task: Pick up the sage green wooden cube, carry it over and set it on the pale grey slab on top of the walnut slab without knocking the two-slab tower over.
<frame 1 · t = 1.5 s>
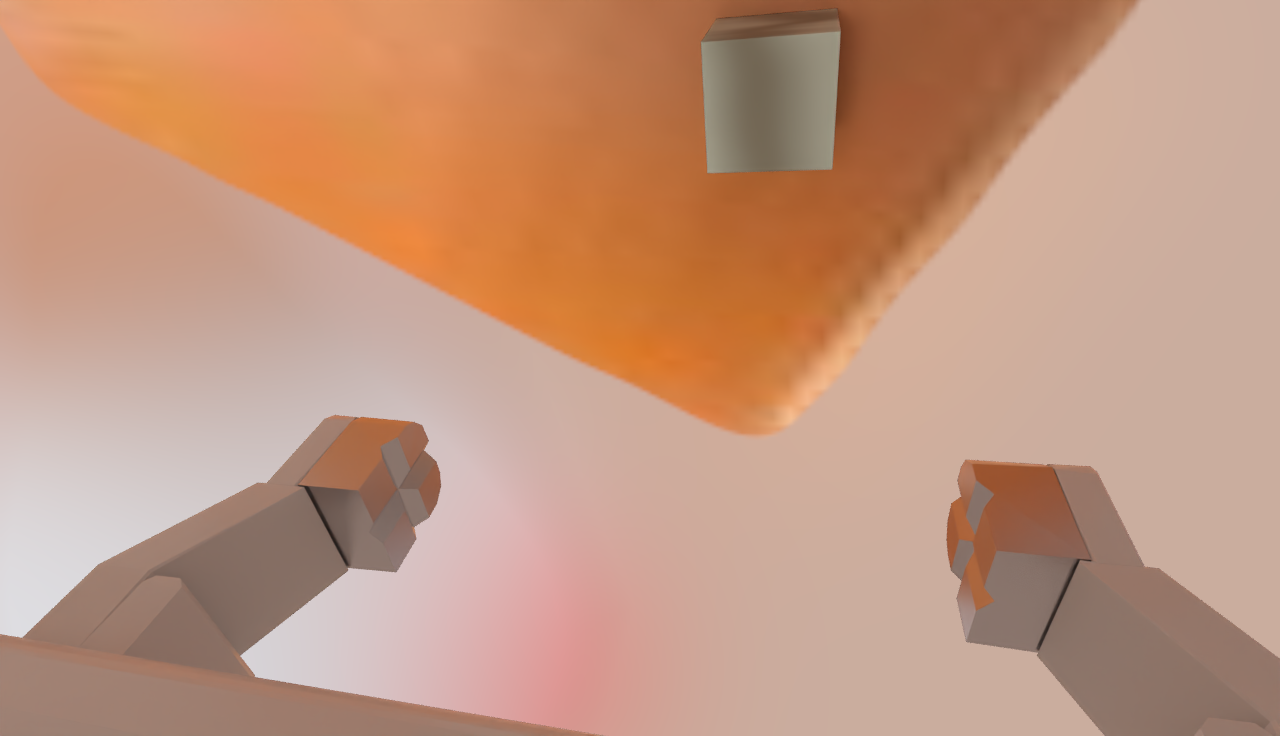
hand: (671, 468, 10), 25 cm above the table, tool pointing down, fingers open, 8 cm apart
sage cube: (775, 76, 30), on the table
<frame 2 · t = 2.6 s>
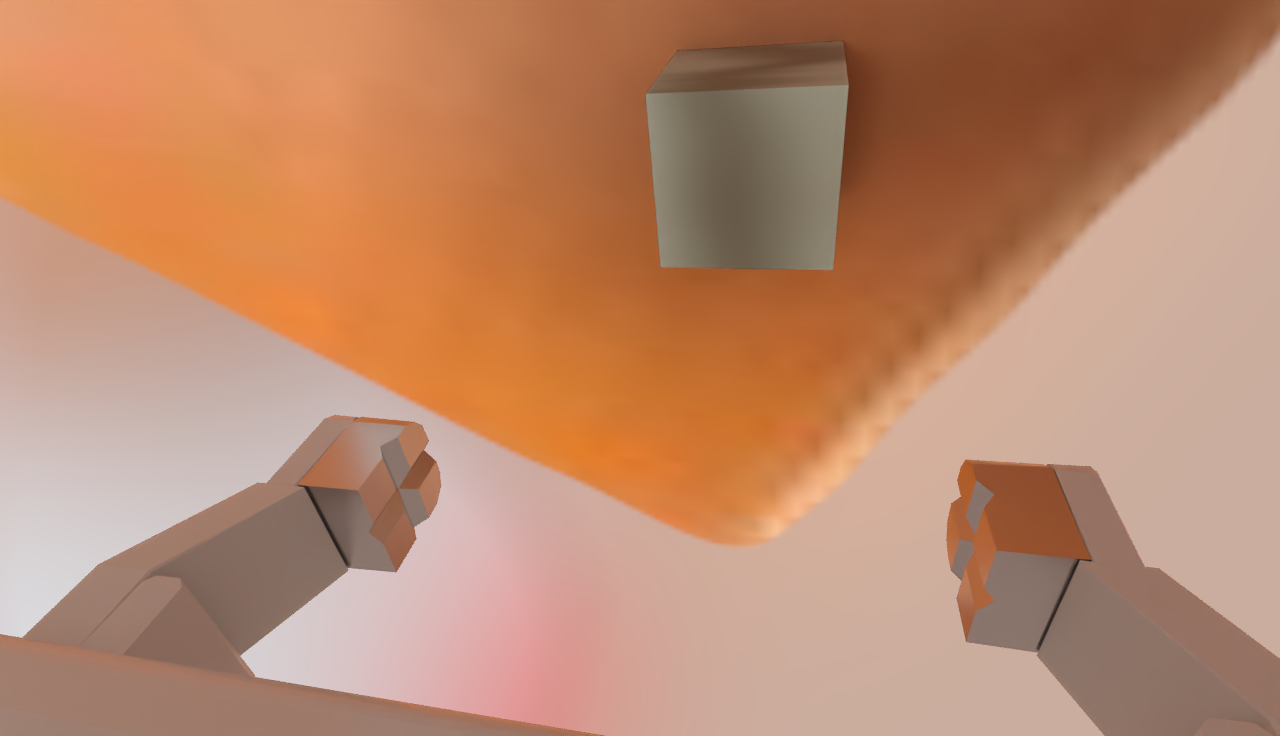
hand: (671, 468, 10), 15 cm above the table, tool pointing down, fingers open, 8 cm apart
sage cube: (757, 127, 22), on the table
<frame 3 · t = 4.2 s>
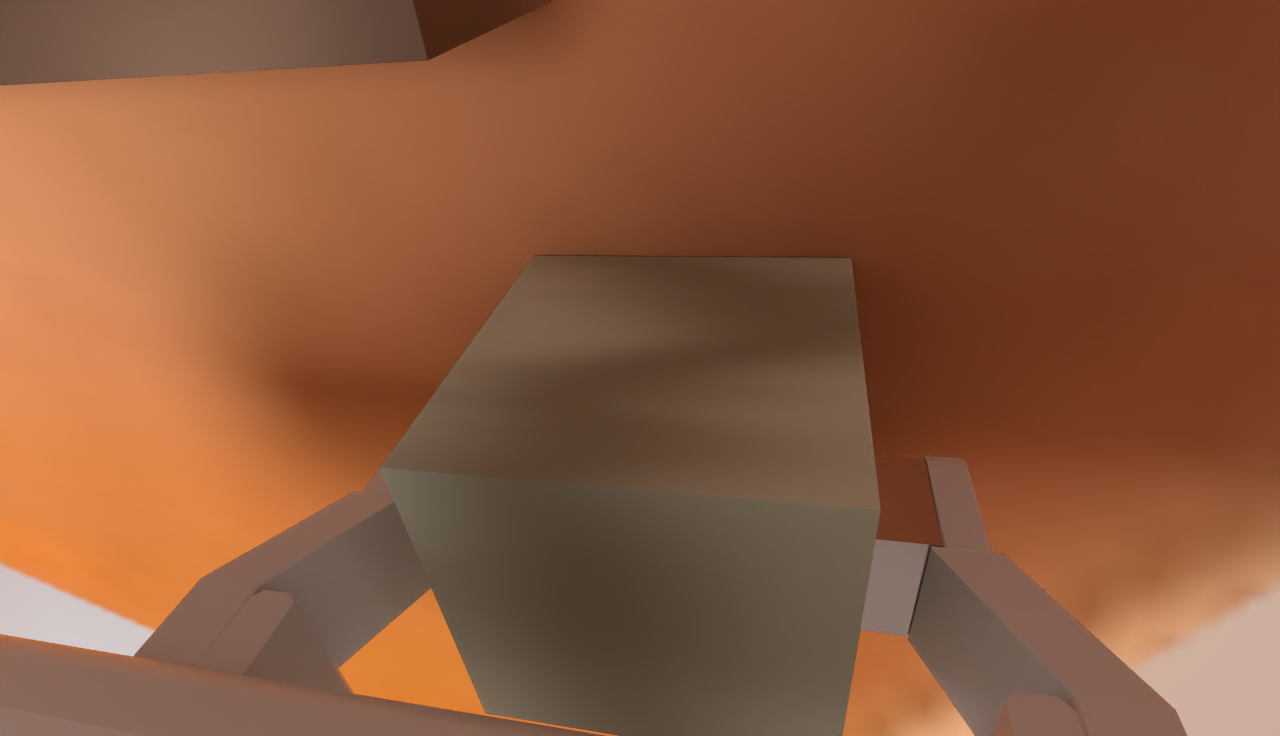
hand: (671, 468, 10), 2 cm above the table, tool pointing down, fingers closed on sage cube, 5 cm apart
sage cube: (691, 384, 12), on the table, touching gripper
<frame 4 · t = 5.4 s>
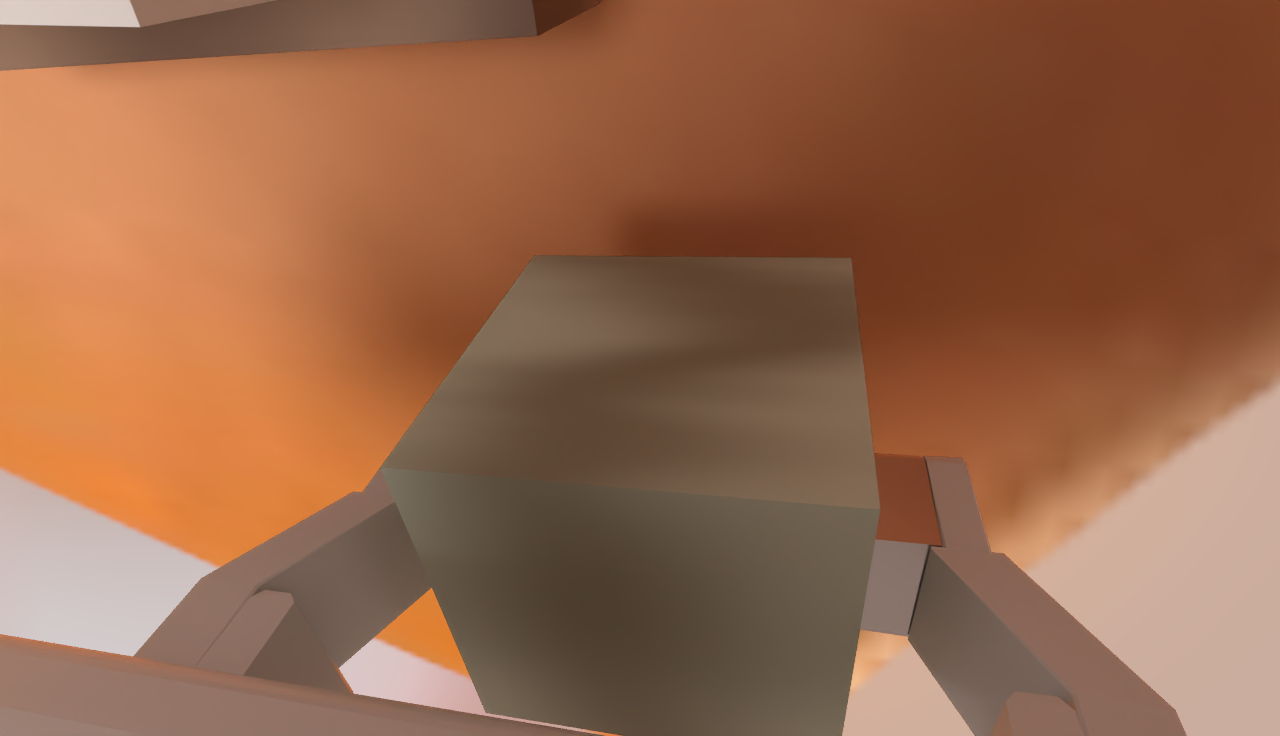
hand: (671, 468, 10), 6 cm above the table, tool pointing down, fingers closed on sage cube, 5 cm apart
sage cube: (691, 384, 12), point 3 cm above the table, touching gripper
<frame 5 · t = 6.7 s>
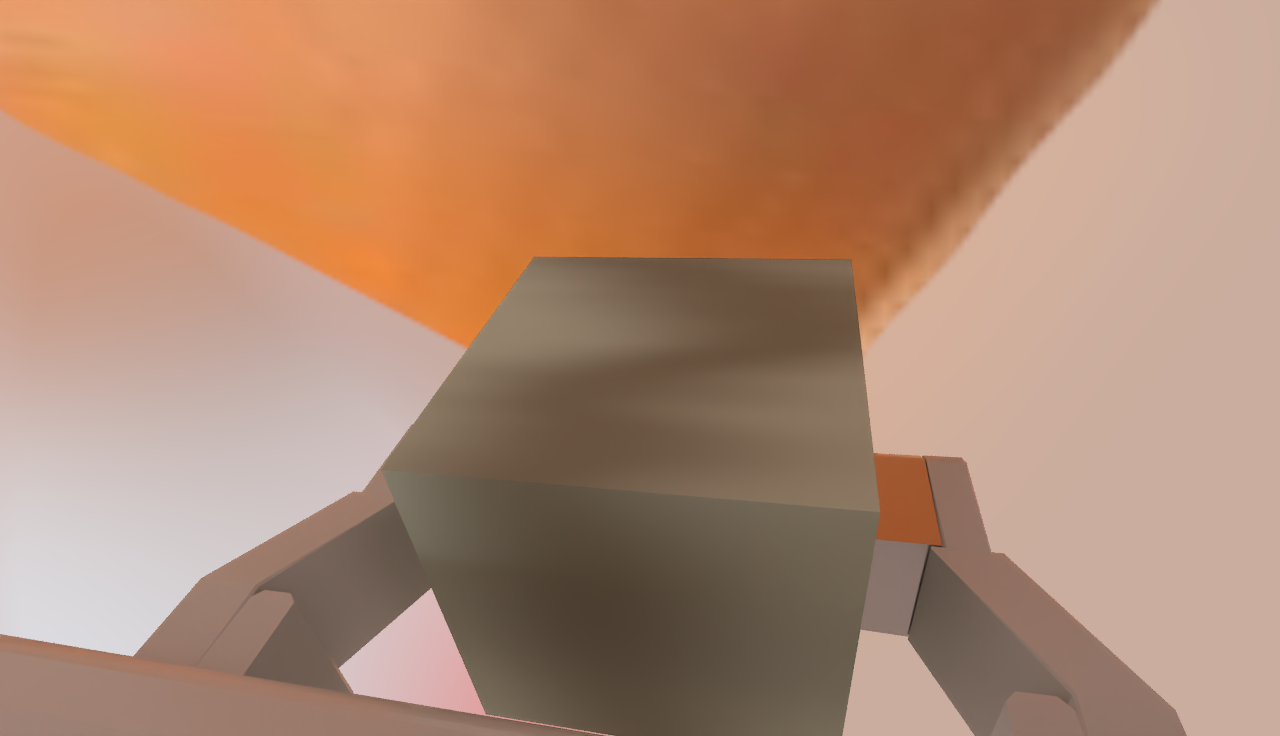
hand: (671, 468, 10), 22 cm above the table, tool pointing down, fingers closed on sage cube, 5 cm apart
sage cube: (691, 385, 12), point 20 cm above the table, touching gripper
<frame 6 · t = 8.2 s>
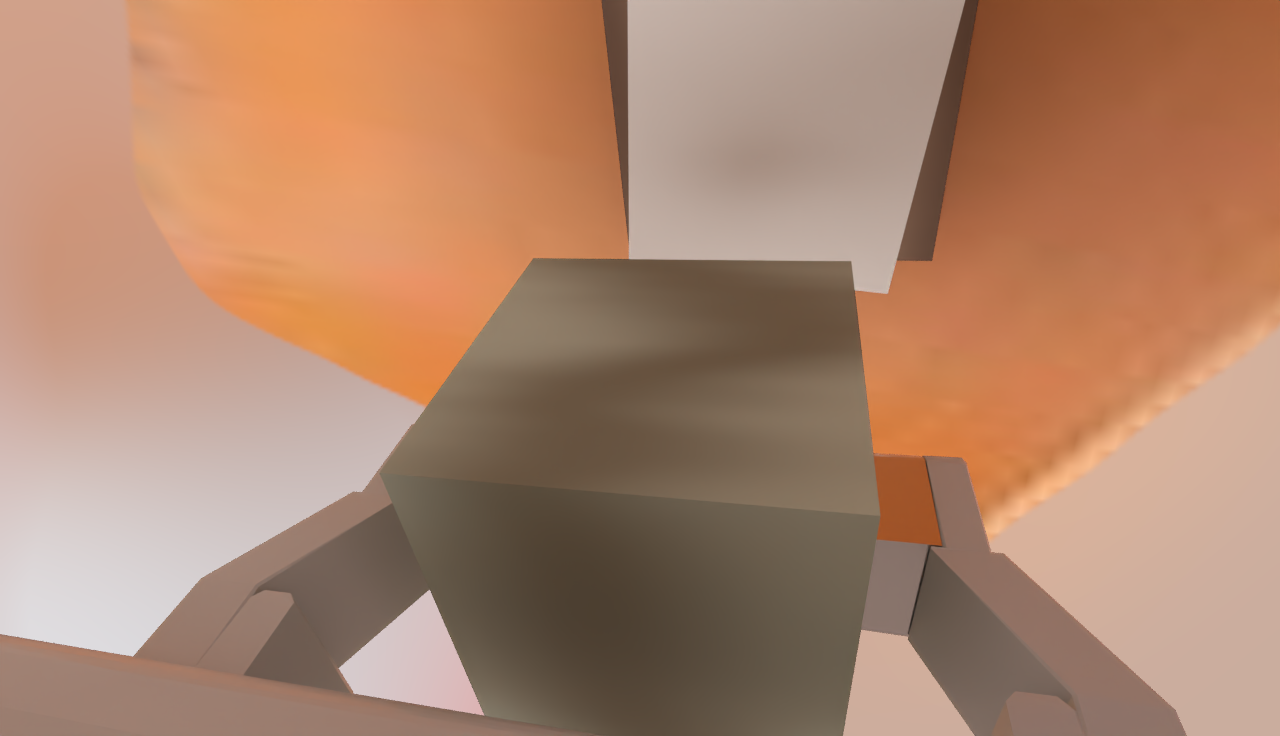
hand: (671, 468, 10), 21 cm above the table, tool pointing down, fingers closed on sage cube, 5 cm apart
sage cube: (691, 387, 12), point 19 cm above the table, touching gripper
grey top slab: (776, 114, 24), point 3 cm above the table, touching walnut base slab
walnut base slab: (781, 78, 27), on the table, touching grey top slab
when the fingers open (12 cm above the table, at t = 10.1 s): sage cube drops 2 cm, resting on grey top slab.
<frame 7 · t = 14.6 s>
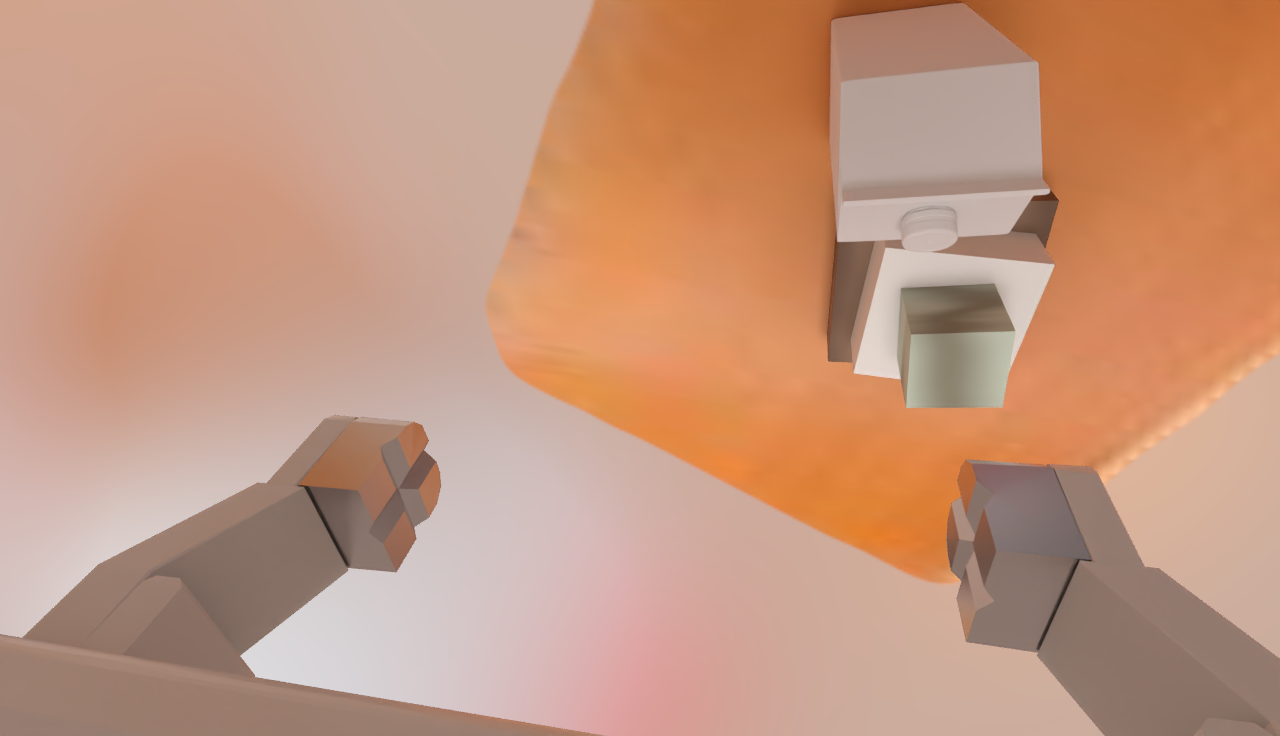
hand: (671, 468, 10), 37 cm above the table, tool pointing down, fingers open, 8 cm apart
sage cube: (943, 322, 40), point 7 cm above the table, touching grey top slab
milk carton: (891, 75, 40), on the table
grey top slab: (935, 290, 43), point 3 cm above the table, touching sage cube, walnut base slab
walnut base slab: (922, 261, 46), on the table, touching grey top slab
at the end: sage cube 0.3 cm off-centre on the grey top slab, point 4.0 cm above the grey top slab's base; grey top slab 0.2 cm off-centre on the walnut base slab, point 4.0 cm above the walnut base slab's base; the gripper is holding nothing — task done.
